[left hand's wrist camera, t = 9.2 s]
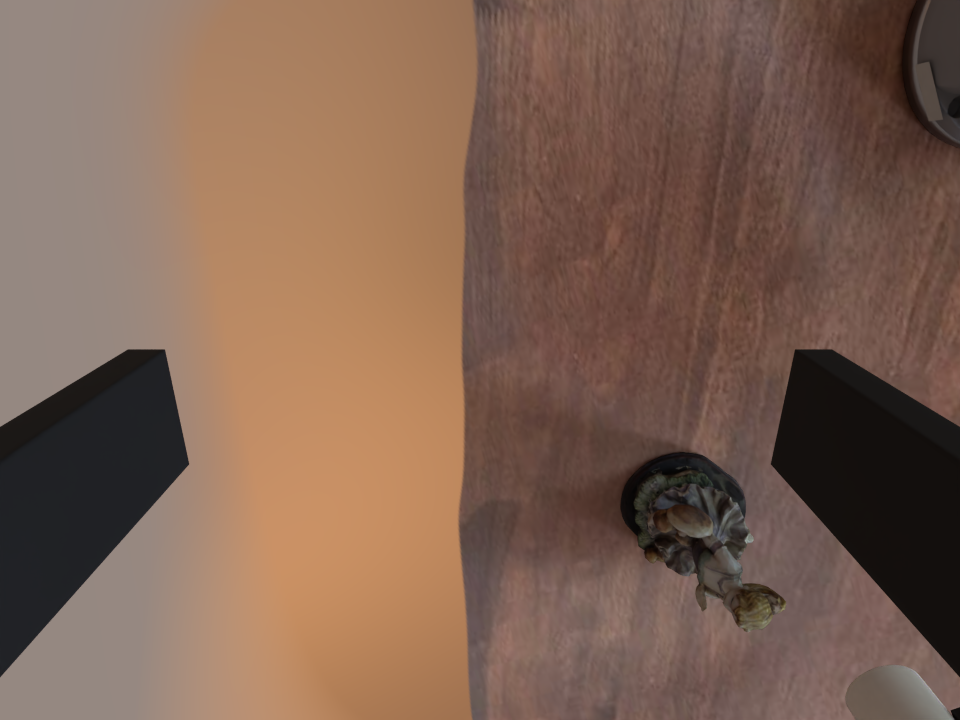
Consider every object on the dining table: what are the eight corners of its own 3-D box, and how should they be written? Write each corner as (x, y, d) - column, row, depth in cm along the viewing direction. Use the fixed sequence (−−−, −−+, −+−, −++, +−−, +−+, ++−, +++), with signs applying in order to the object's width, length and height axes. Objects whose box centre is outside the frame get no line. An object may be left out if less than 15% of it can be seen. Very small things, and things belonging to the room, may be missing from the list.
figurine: (604, 479, 52) (649, 605, 38) (719, 432, 50) (810, 545, 36) (649, 572, 56) (706, 717, 42) (758, 532, 54) (854, 669, 40)
